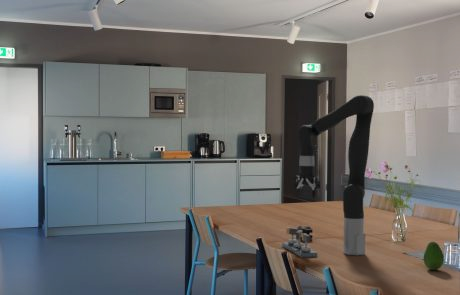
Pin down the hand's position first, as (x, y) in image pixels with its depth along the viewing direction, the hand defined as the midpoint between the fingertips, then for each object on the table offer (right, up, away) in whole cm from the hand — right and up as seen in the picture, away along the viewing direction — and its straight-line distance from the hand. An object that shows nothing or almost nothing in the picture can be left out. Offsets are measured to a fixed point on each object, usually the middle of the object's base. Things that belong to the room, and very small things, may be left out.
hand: (306, 196), depth 279 cm
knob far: (-7, -23, -2) cm, 24 cm away
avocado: (+47, -27, -47) cm, 71 cm away
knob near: (-3, -23, -20) cm, 31 cm away
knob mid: (-5, -23, -11) cm, 26 cm away
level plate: (-5, -25, -11) cm, 28 cm away
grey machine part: (+2, -25, +21) cm, 32 cm away
